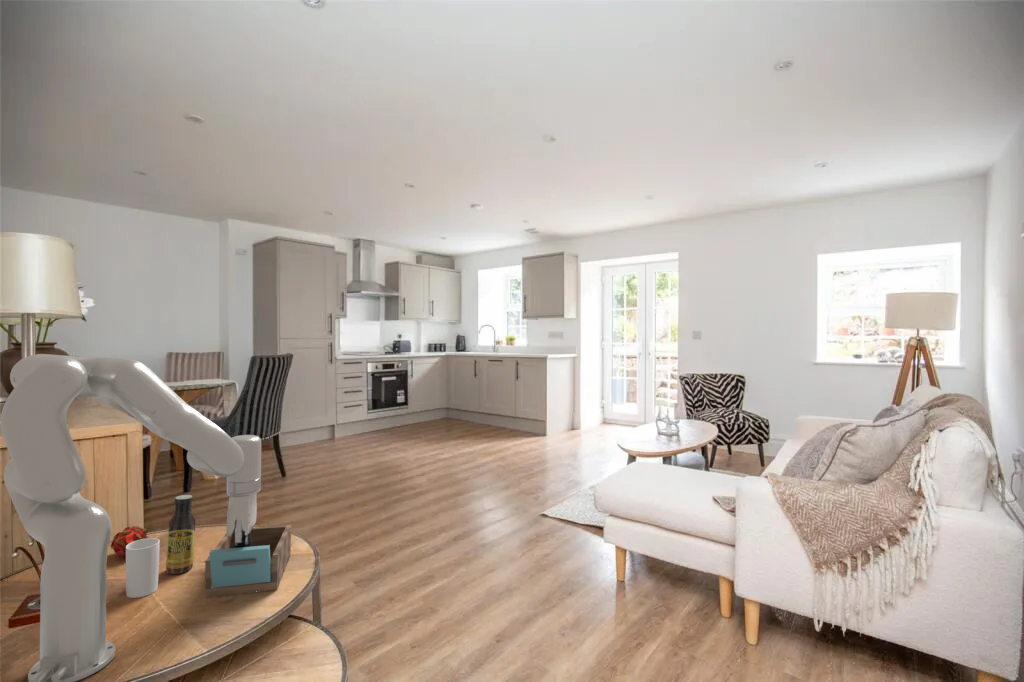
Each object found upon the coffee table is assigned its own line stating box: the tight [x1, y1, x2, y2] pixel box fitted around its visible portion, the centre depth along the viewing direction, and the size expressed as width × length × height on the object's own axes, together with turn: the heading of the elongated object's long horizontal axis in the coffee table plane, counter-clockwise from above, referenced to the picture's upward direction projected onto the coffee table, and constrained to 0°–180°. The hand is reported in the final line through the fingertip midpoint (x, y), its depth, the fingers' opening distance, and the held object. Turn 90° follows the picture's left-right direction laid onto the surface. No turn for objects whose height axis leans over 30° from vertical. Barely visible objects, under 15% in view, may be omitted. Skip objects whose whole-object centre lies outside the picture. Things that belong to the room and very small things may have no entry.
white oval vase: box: [125, 537, 160, 599], centre depth 125 cm, size 10×7×12 cm, turn 24°
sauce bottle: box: [165, 494, 197, 575], centre depth 135 cm, size 7×6×20 cm
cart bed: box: [204, 524, 292, 598], centre depth 133 cm, size 20×16×9 cm
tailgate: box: [208, 545, 271, 587], centre depth 122 cm, size 2×13×10 cm, turn 105°
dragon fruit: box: [110, 525, 150, 561], centre depth 143 cm, size 8×8×12 cm
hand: (243, 558), depth 124 cm, fingers closed
